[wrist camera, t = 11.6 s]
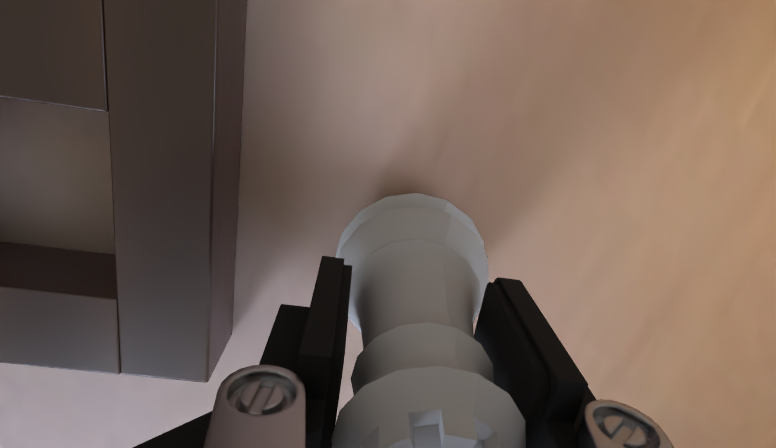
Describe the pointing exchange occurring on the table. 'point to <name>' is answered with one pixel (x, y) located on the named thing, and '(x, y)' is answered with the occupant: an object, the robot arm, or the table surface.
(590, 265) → the table surface
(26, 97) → the stand
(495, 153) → the table surface
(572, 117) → the table surface
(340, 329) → the robot arm
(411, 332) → the rook chess piece
